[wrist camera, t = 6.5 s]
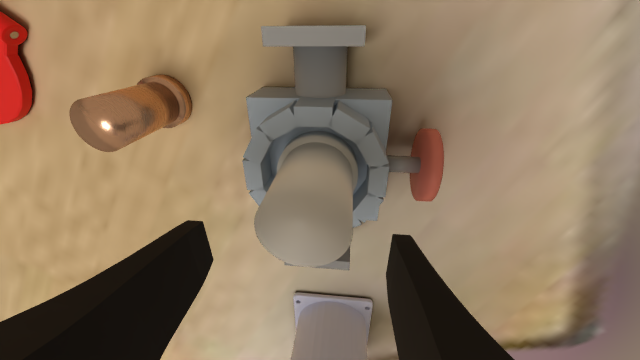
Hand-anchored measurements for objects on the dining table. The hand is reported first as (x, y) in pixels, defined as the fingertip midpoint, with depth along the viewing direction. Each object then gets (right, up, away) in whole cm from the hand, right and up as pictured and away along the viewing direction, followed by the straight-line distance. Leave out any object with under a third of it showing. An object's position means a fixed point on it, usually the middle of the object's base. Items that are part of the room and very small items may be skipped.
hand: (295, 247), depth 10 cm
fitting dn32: (-10, +8, +9) cm, 15 cm away
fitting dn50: (+1, +3, +6) cm, 7 cm away
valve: (+3, +5, +9) cm, 11 cm away
